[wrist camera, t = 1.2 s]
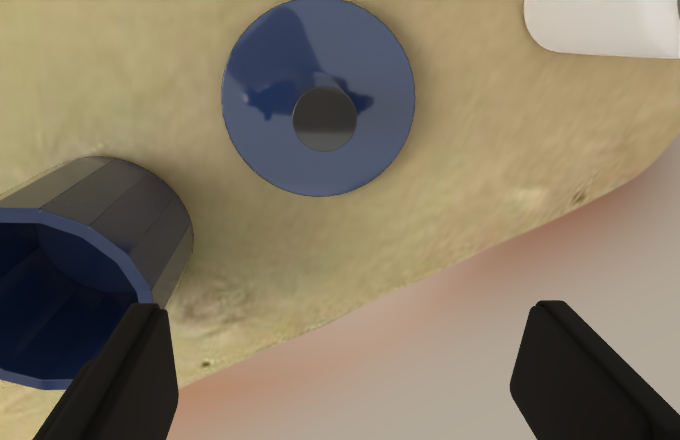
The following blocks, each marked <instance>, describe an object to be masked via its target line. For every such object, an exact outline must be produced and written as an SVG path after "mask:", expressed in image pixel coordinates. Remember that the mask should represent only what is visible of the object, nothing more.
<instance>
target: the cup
mask: <svg viewBox="0 0 680 440" xmlns="http://www.w3.org/2000/svg"><path fill="white" fill-rule="evenodd" d="M193 243H194V241H193V228H192V224H191V220H190V217H189V215H188V212H187V210H186V208H185V206H184V205H183V203H182V201H181V200H180V198H179V197H178V196H177V195H176V193H175V192H174V191H173V190H172V189H171V188H170V187H169V186H168V185H167V184H166V183H165V182H164V181H163V180H161V179H160V178H159V177H157V176H156V175H155V174H153V173H151V172H150V171H148V170H146V169H144V168H142V167H140V166H138V165H136V164H133V163H130V162H127V161H124V160H120V159H115V158H110V157H84V158H77V159H74V160H70V161H67V162H65V163H62V164H60V165H58V166H55V167H53V168H50V169H48V170H46V171H44V172H42V173H40V174H38V175H36V176H34V177H32V178H30V179H29V180H27V181H25V182H23V183H21V184H19V185H17V186H15V187H13V188H12V189H10V190H8V191H6V192H4V193H2V194H0V380H4V381H8V382H12V383H16V384H20V385H24V386H28V387H32V388H36V389H41V390H42V389H43V390H67V388H68V387H69V385H70V384H71V382H72V381H73V379H74V378H75V376H76V375H77V373H78V372H79V370H80V369H81V368H82V366H83V365H84V364H85V363H86V362H88V361H90V360H95V359H96V357H97V356H98V354H99V353H100V351H101V350H102V348H103V347H104V345H105V343H106V342H107V340H108V339H109V337H110V336H111V334H112V333H113V331H114V330H115V328H116V327H117V325H118V324H119V322H120V320H121V319H122V317H123V316H124V314H125V313H126V311H127V310H128V308H129V307H130V305H131V304H134V303H157V304H159V306H160V309H166V310H167V308H168V306H169V304H170V302H171V300H172V298H173V295H174V293H175V291H176V289H177V287H178V285H179V283H180V281H181V279H182V277H183V275H184V272H185V270H186V267H187V265H188V262H189V260H190V257H191V254H192V252H193Z"/></svg>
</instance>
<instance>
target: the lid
mask: <svg viewBox="0 0 680 440" xmlns="http://www.w3.org/2000/svg"><path fill="white" fill-rule="evenodd" d="M221 102H222V111H223V117H224V121H225V125H226V128H227V131H228V133H229V136H230V139H231V141H232V143H233V144H234V146H235V148H236V150H237V151H238V153H239V154H240V156H241V157H242V158H243V160H244V161H245V162H246V163H247V164H248V165H249V167H250V168H251V169H252V170H253V171H255V172H256V173H257V174H258V175H259V176H260V177H262V178H263V179H265V180H266V181H268V182H269V183H271V184H272V185H274V186H276V187H279V188H281V189H283V190H286V191H288V192H291V193H294V194H299V195H304V196H314V197H323V196H333V195H340V194H343V193H346V192H350V191H353V190H355V189H357V188H360V187H362V186H363V185H365V184H367V183H369V182H370V181H372V180H373V179H375V178H376V177H377V176H378V175H380V174H381V173H382V172H383V171H384V170H385V169H386V168H387V167H388V166H389V165H390V164H391V163H392V162H393V160H394V159H395V158H396V157H397V155H398V153H399V152H400V150H401V149H402V147H403V145H404V143H405V141H406V139H407V137H408V134H409V131H410V128H411V125H412V121H413V116H414V111H415V85H414V79H413V74H412V70H411V67H410V64H409V61H408V58H407V56H406V54H405V52H404V50H403V48H402V46H401V45H400V43H399V41H398V40H397V38H396V37H395V35H394V34H393V33H392V32H391V31H390V30H389V28H388V27H387V26H386V25H385V24H384V23H382V22H381V21H380V20H379V19H378V18H377V17H376V16H374V15H373V14H371V13H370V12H368V11H367V10H365V9H363V8H361V7H359V6H357V5H355V4H353V3H350V2H346V1H343V0H292V1H289V2H286V3H283V4H281V5H279V6H276V7H274V8H272V9H270V10H269V11H267V12H266V13H264V14H263V15H261V16H260V17H259V18H258V19H256V20H255V21H254V22H253V23H252V24H251V25H250V26H249V27H248V28H247V29H246V30H245V32H244V33H243V34H242V35H241V36H240V38H239V40H238V41H237V43H236V44H235V46H234V48H233V49H232V52H231V54H230V56H229V59H228V61H227V64H226V68H225V71H224V75H223V81H222V92H221Z"/></svg>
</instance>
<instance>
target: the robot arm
mask: <svg viewBox="0 0 680 440" xmlns="http://www.w3.org/2000/svg"><path fill="white" fill-rule="evenodd" d="M510 392H511V395H512V397H513V400H514V401H515V403H516V404H517V406H518V408H519V410H520V411H521V413H522V415H523V416H524V418H525V420H526V421H527V423H528V425H529V427H530V428H531V430H532V432H533V433H534V435H535V436H536V438H537V440H680V415H679V414H678V413H677V412H676V411H675V410H674V409H673V408H672V407H671V406H670V405H669V404H668V403H667V402H666V401H665V400H664V399H663V398H662V397H661V396H660V395H659V394H658V393H657V392H656V391H654V389H653V388H652V387H651V386H650V385H649V384H647V382H645V380H644V379H643V378H641V376H640V375H638V373H636V372H635V371H634V370H633V369H632V368H631V367H630V366H629V365H628V364H627V363H626V362H625V361H624V360H623V359H622V358H621V357H620V356H619V355H618V354H617V353H616V352H615V351H614V350H613V349H612V348H611V347H610V346H609V345H608V344H607V343H606V342H605V341H604V340H603V339H602V338H601V337H600V336H599V335H598V334H597V333H596V332H595V331H594V330H593V329H592V328H591V327H590V326H589V325H588V324H587V323H586V322H584V320H583V319H582V318H581V317H580V316H578V314H577V313H576V312H575V311H573V309H572V308H570V306H568V305H567V304H566V303H565V302H564V301H555V300H552V301H539V302H538V303H537V304H536V306H533V307H532V308H531V309H530V312H529V316H528V320H527V323H526V326H525V330H524V334H523V337H522V341H521V345H520V348H519V352H518V356H517V359H516V363H515V367H514V370H513V374H512V377H511V381H510ZM178 395H179V394H178V385H177V377H176V370H175V363H174V355H173V348H172V340H171V333H170V326H169V318H168V312H167V310H166V309H160V306H159V304H157V303H134V304H131V305H130V307H129V308H128V310H127V311H126V313H125V314H124V316H123V317H122V319H121V320H120V322H119V324H118V325H117V327H116V328H115V330H114V331H113V333H112V334H111V336H110V337H109V339H108V340H107V342H106V343H105V345H104V347H103V348H102V350H101V351H100V353H99V354H98V356H97V357H96V359H95V360H90V361H88V362H86V363H85V364H84V365H83V366H82V368H81V369H80V370H79V372H78V373H77V375H76V376H75V378H74V379H73V381H72V382H71V384H70V385H69V387H68V388H67V390H66V391H65V393H64V394H63V396H62V397H61V398H60V400H59V401H58V403H57V404H56V406H55V407H54V409H53V410H52V412H51V413H50V415H49V416H48V418H47V419H46V421H45V422H44V424H43V425H42V427H41V428H40V429H39V431H38V432H37V434H36V435H35V437H34V438H33V440H166V438H167V435H168V432H169V429H170V426H171V423H172V420H173V417H174V414H175V411H176V408H177V404H178Z"/></svg>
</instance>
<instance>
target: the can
mask: <svg viewBox="0 0 680 440" xmlns="http://www.w3.org/2000/svg"><path fill="white" fill-rule="evenodd" d="M524 17H525V23H526V26H527V29H528V31H529V33H530V35H531V36H532V38H533V39H534V40H535V41H536V42H537V43H538V44H539V45H540V46H542V47H543V48H545V49H547V50H550V51H554V52H560V53H573V54H589V55H606V56H624V57H643V58H663V59H680V0H524Z"/></svg>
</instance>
